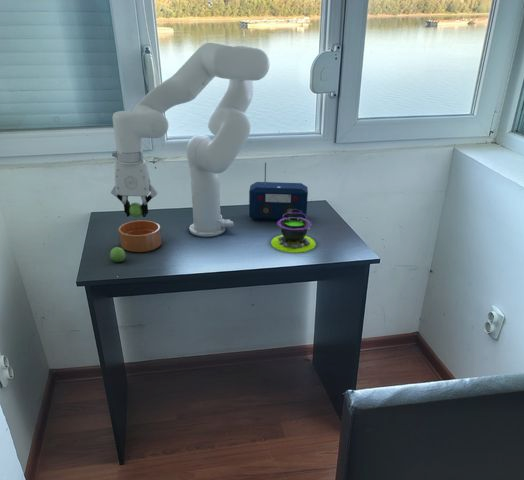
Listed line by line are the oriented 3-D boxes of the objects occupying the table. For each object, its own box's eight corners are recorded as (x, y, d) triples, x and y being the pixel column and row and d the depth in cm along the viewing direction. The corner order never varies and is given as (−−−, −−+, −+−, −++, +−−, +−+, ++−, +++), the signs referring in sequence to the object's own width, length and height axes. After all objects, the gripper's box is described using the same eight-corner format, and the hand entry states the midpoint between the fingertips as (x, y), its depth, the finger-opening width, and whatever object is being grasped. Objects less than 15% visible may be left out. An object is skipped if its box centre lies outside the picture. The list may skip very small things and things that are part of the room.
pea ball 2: (145, 214, 168) (144, 200, 165) (142, 219, 164) (141, 205, 162) (131, 214, 168) (129, 200, 165) (128, 219, 164) (126, 205, 162)
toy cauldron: (324, 243, 175) (327, 211, 169) (296, 256, 166) (297, 224, 160) (290, 231, 184) (292, 200, 177) (261, 243, 175) (262, 211, 168)
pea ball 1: (127, 258, 163) (125, 244, 161) (124, 264, 160) (122, 251, 157) (113, 258, 163) (111, 244, 161) (109, 264, 160) (107, 250, 157)
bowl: (164, 237, 177) (163, 220, 174) (157, 253, 166) (156, 236, 163) (126, 236, 177) (123, 219, 174) (116, 253, 166) (114, 235, 163)
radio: (249, 221, 191) (249, 166, 179) (250, 213, 198) (250, 159, 186) (305, 223, 190) (309, 167, 178) (305, 214, 197) (309, 160, 186)
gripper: (98, 158, 152) (107, 218, 163) (156, 160, 152) (161, 220, 163) (105, 152, 159) (113, 210, 169) (160, 154, 159) (165, 212, 169)
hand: (136, 214), depth 166 cm, fingers closed on pea ball 2, 4 cm apart
